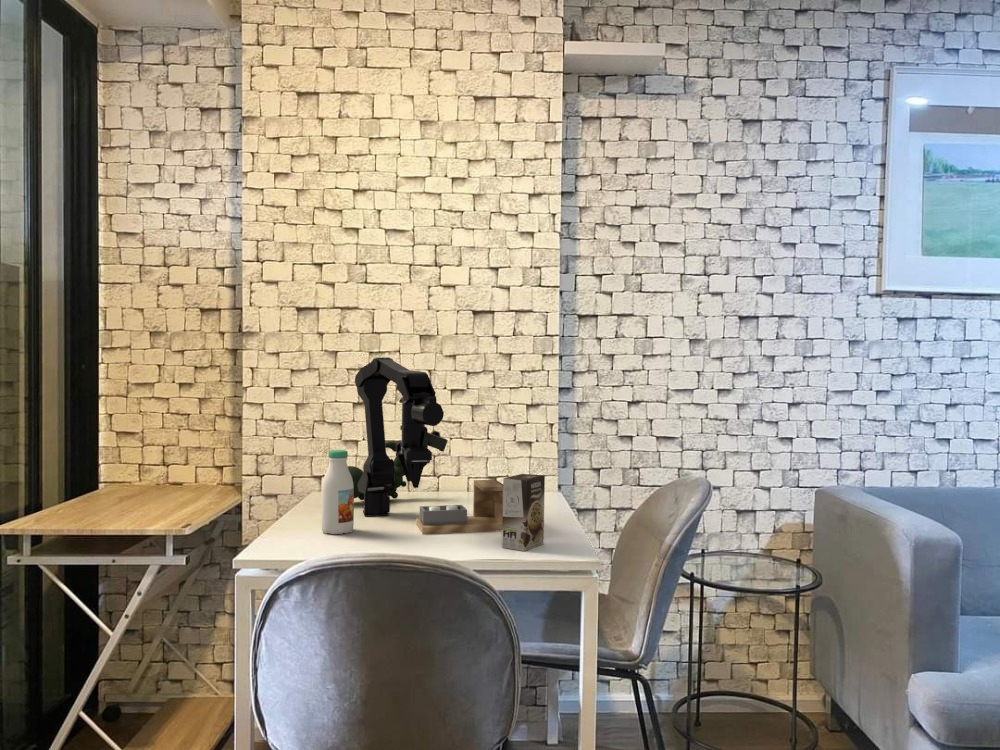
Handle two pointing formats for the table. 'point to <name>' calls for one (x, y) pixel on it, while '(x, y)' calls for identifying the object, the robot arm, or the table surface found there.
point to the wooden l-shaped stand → (476, 511)
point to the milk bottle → (337, 495)
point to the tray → (443, 515)
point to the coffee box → (523, 511)
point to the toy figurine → (357, 472)
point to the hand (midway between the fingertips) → (412, 484)
